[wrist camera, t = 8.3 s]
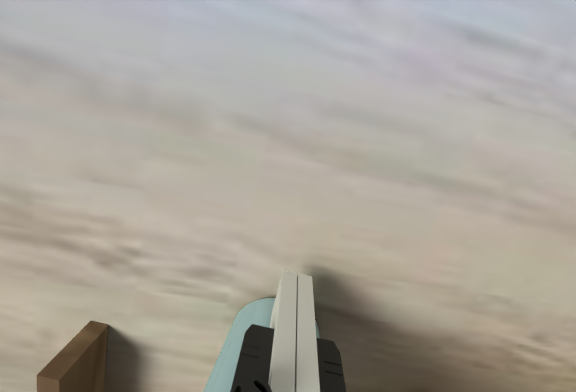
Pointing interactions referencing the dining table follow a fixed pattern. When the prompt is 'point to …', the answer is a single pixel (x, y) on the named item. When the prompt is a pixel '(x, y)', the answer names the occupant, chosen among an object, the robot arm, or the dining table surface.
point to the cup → (239, 343)
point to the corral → (78, 363)
